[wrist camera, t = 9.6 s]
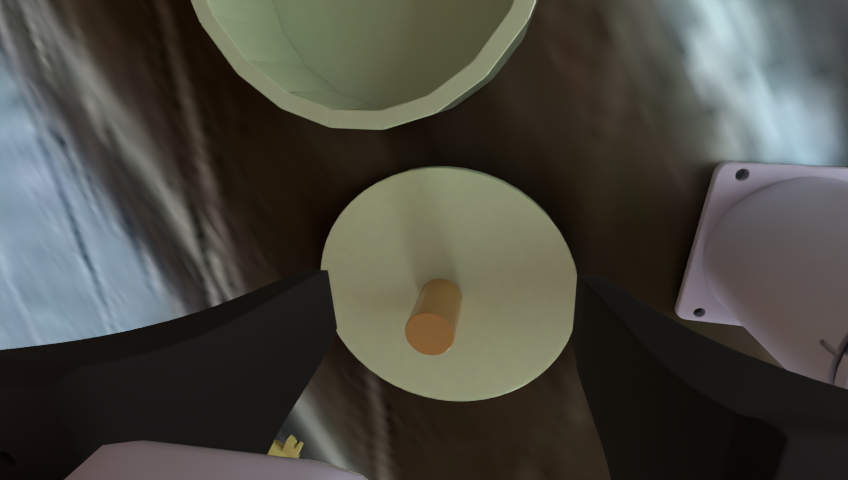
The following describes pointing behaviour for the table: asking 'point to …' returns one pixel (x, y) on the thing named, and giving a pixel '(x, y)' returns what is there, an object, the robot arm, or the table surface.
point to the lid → (450, 283)
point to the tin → (366, 53)
